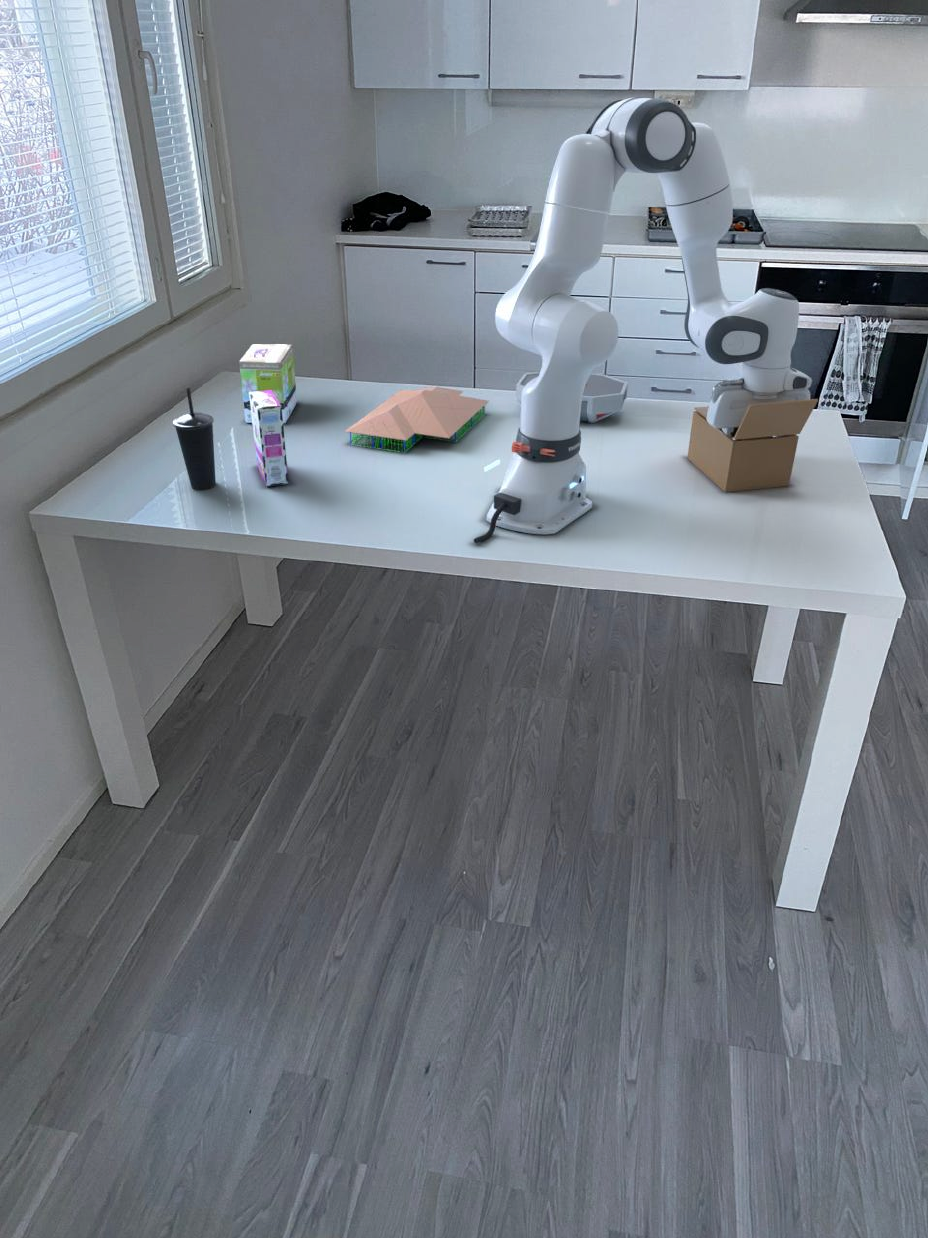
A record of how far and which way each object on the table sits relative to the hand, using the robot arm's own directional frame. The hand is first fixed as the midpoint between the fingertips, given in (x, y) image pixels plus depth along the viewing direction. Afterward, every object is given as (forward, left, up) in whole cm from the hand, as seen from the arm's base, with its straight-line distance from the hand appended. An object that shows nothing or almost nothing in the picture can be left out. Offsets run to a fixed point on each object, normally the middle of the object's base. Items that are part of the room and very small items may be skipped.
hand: (751, 445), depth 187 cm
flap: (-5, -4, +8) cm, 10 cm away
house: (-1, +74, -8) cm, 74 cm away
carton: (+4, +3, -8) cm, 9 cm away
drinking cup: (-49, +99, -8) cm, 110 cm away
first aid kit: (+22, +46, -8) cm, 51 cm away
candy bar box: (-39, +89, -8) cm, 97 cm away
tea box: (-8, +111, -8) cm, 111 cm away
